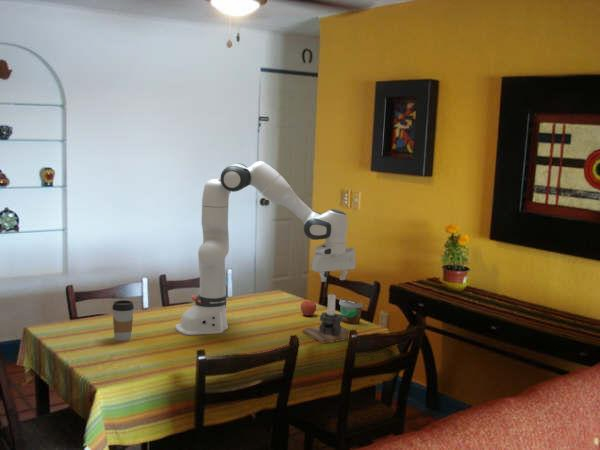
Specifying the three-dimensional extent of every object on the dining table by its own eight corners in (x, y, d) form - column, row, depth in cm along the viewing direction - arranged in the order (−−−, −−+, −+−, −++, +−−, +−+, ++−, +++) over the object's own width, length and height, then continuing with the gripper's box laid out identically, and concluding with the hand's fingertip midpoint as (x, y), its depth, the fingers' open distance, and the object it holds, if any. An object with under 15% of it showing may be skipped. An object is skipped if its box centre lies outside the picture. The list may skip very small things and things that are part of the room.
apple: (307, 312, 328) (308, 296, 327) (319, 316, 323) (320, 299, 322) (296, 315, 323) (297, 298, 322) (308, 318, 318) (309, 301, 317)
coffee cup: (110, 336, 279) (110, 300, 276) (131, 335, 282) (132, 299, 280) (113, 343, 271) (113, 306, 269) (135, 341, 274) (135, 304, 272)
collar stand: (322, 343, 284) (323, 323, 282) (302, 332, 297) (303, 313, 296) (358, 338, 293) (359, 318, 292) (336, 327, 306) (338, 308, 305)
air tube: (329, 333, 292) (330, 296, 290) (324, 331, 295) (326, 294, 293) (335, 332, 294) (337, 295, 292) (331, 330, 297) (333, 293, 295)
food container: (332, 320, 317) (333, 299, 316) (340, 318, 322) (342, 297, 320) (353, 326, 309) (354, 305, 307) (361, 324, 313) (363, 302, 312)
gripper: (351, 245, 297) (348, 277, 300) (310, 248, 287) (308, 280, 289) (359, 248, 292) (357, 280, 294) (319, 251, 281) (316, 284, 284)
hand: (332, 280), depth 291 cm, fingers open, 8 cm apart
